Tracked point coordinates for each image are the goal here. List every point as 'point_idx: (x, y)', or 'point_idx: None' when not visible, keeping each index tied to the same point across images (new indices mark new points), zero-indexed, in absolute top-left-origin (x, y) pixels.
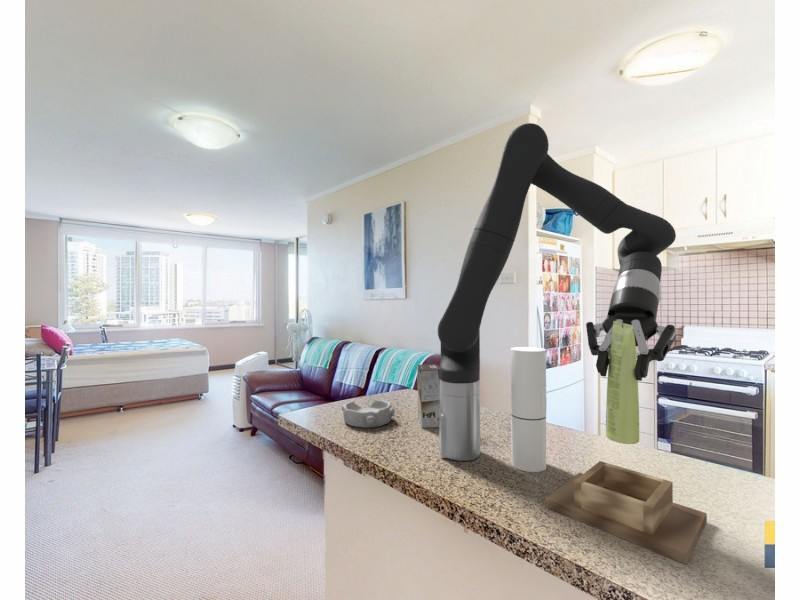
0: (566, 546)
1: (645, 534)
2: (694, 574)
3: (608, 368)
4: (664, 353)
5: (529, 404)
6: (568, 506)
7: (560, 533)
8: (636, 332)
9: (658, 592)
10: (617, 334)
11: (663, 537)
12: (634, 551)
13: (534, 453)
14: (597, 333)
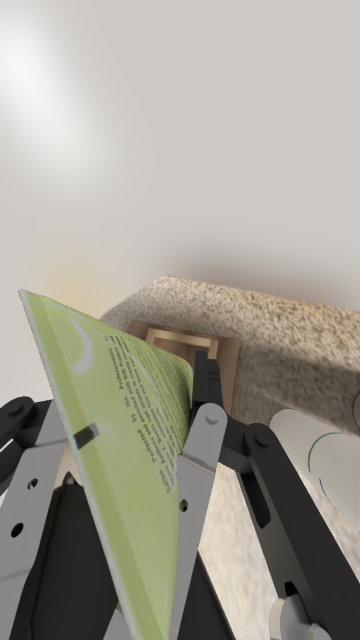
0: (207, 295)
1: (158, 329)
2: (131, 313)
3: (190, 397)
4: (7, 448)
5: (347, 447)
6: (218, 337)
7: (215, 309)
8: (34, 514)
9: (150, 283)
10: (141, 435)
11: (146, 333)
12: (165, 317)
13: (287, 420)
14: (282, 600)
